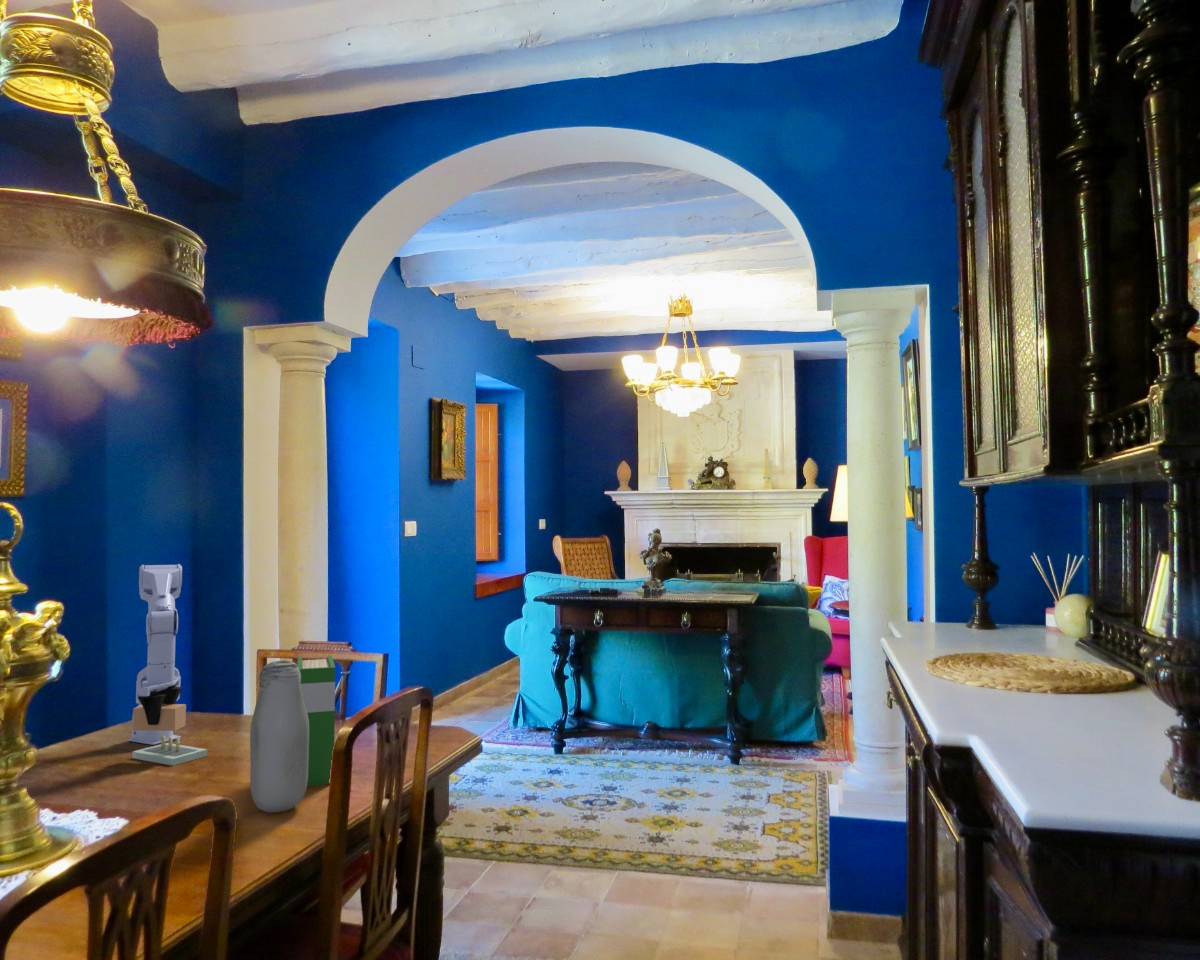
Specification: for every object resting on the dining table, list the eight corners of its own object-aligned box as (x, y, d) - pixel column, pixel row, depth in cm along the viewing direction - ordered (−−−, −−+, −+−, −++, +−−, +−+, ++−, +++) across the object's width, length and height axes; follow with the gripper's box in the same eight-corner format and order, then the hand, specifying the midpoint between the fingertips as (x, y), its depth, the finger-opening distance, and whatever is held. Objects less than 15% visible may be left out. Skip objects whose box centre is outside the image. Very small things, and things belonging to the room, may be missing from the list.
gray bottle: (276, 799, 167) (279, 655, 169) (318, 805, 164) (320, 658, 165) (237, 815, 158) (240, 663, 160) (280, 822, 154) (283, 666, 156)
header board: (132, 758, 198) (132, 738, 198) (167, 749, 206) (167, 730, 206) (172, 765, 191) (173, 745, 192) (207, 756, 199) (207, 736, 200)
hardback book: (295, 764, 192) (297, 657, 193) (330, 761, 195) (331, 655, 196) (296, 787, 176) (298, 669, 177) (333, 783, 178) (335, 667, 179)
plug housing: (132, 730, 195) (133, 708, 195) (144, 725, 200) (144, 704, 200) (174, 730, 195) (175, 708, 195) (185, 725, 200) (186, 704, 200)
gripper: (161, 657, 206) (159, 714, 205) (126, 667, 191) (124, 729, 190) (189, 657, 205) (188, 714, 205) (157, 667, 191) (155, 729, 190)
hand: (159, 721), depth 198 cm, fingers closed on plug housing, 5 cm apart
